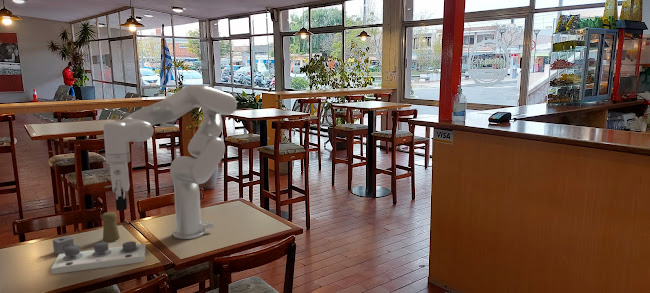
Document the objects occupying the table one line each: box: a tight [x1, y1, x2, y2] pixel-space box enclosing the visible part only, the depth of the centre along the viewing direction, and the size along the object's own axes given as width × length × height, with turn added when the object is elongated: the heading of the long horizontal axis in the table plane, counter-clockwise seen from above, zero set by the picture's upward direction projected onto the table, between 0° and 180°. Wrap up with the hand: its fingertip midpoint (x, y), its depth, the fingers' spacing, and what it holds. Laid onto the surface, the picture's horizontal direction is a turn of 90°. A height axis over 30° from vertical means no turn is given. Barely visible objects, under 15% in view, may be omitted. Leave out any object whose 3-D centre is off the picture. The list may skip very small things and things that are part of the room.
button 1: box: [65, 244, 81, 256], centre depth 153 cm, size 4×4×2 cm
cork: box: [101, 211, 121, 243], centre depth 173 cm, size 6×6×11 cm
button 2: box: [122, 240, 137, 252], centre depth 159 cm, size 4×4×2 cm
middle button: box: [93, 241, 109, 252], centre depth 156 cm, size 4×4×2 cm
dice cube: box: [52, 235, 75, 256], centre depth 162 cm, size 5×5×5 cm
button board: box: [50, 243, 147, 275], centre depth 155 cm, size 28×12×2 cm, turn 109°
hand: (121, 209), depth 156 cm, fingers closed
